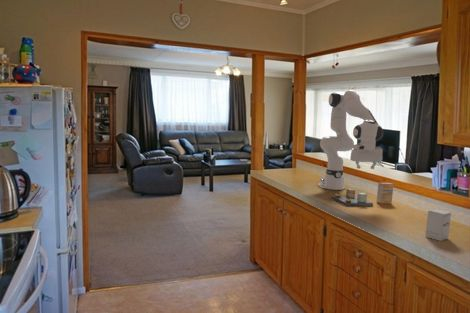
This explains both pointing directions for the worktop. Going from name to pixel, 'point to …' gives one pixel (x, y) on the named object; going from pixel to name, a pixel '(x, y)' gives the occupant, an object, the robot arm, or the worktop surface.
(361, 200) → the pale green rectangular block
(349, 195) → the beige block
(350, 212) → the worktop surface
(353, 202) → the plate
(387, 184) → the supplement box
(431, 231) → the supplement box
